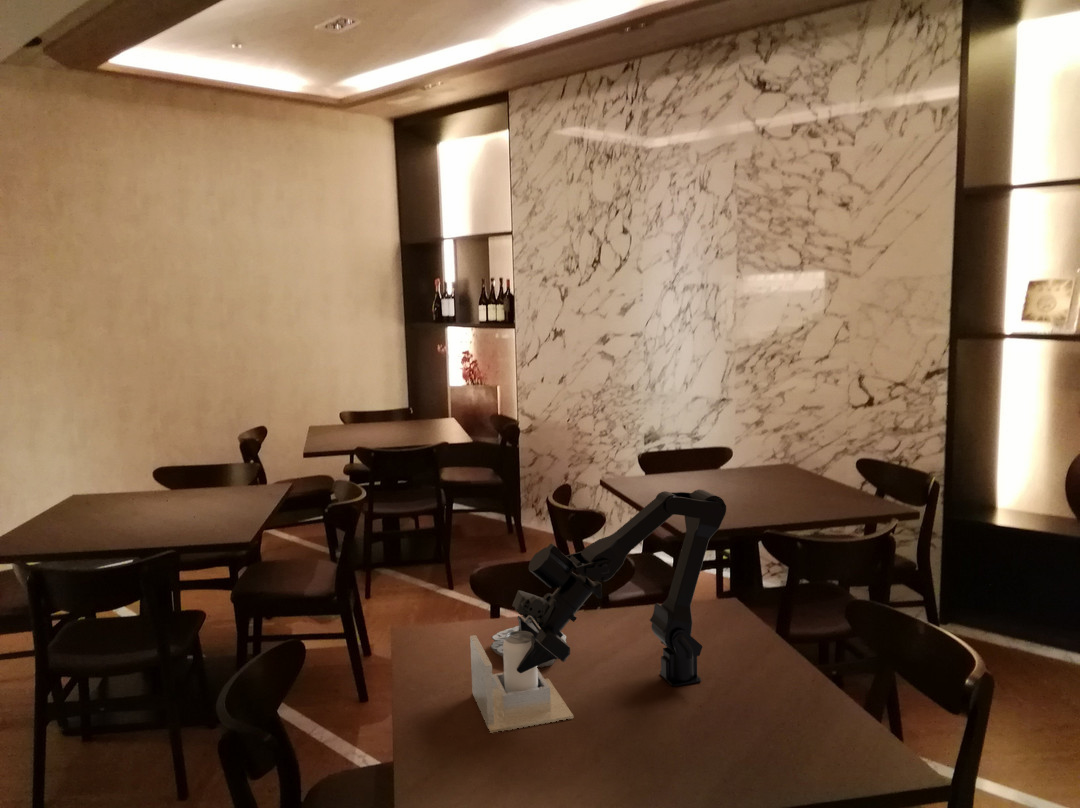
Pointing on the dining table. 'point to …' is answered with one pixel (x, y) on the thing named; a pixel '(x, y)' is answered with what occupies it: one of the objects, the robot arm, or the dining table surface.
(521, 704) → the cup bracket
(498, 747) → the dining table surface
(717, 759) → the dining table surface
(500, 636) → the brain slice
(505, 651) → the can
